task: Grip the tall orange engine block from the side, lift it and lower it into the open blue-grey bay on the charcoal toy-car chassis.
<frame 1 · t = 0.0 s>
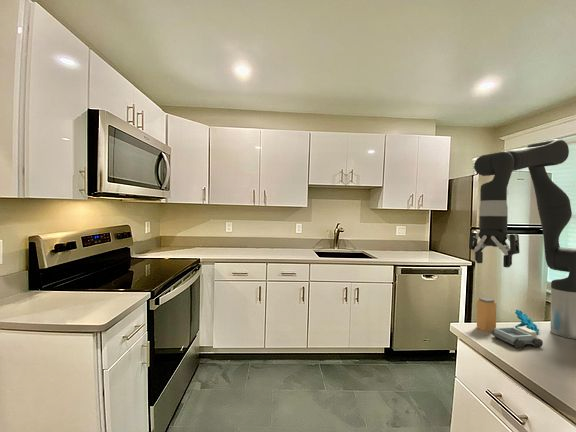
hand: (492, 265, 95), 29 cm above the counter, tool pointing down, fingers open, 8 cm apart
gear: (527, 331, 116), on the counter
chassis: (516, 342, 105), on the counter
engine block: (486, 329, 117), on the counter
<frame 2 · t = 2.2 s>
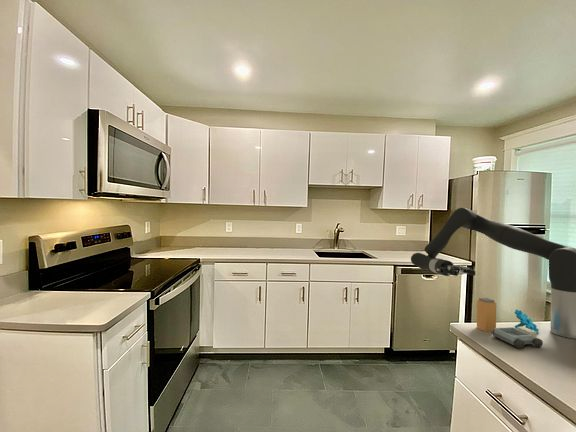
hand: (466, 273, 128), 20 cm above the counter, tool horizontal, fingers open, 8 cm apart
nothing on the counter moved.
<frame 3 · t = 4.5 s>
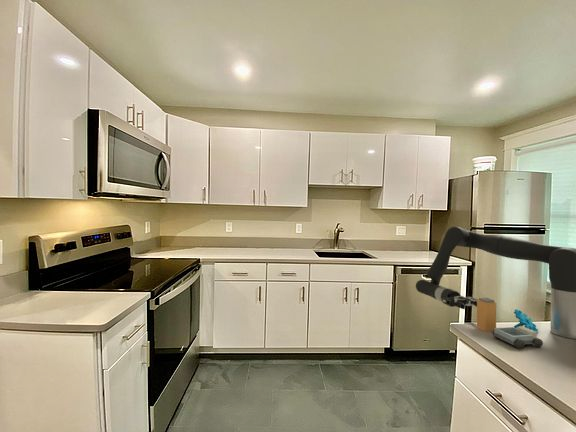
hand: (473, 306, 124), 7 cm above the counter, tool horizontal, fingers open, 8 cm apart
nothing on the counter moved.
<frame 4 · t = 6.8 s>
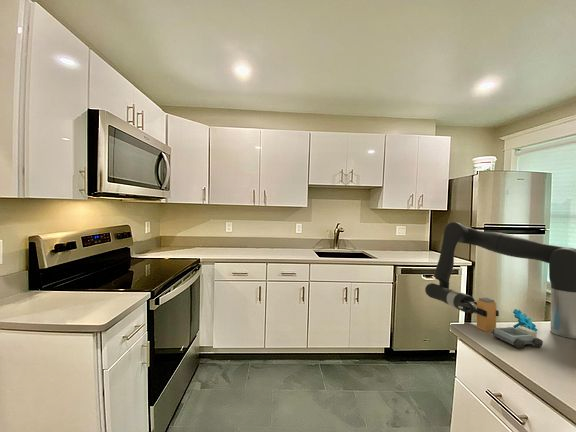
hand: (492, 313, 114), 7 cm above the counter, tool horizontal, fingers closed on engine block, 4 cm apart
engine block: (486, 329, 117), on the counter, touching gripper
everything else where it was.
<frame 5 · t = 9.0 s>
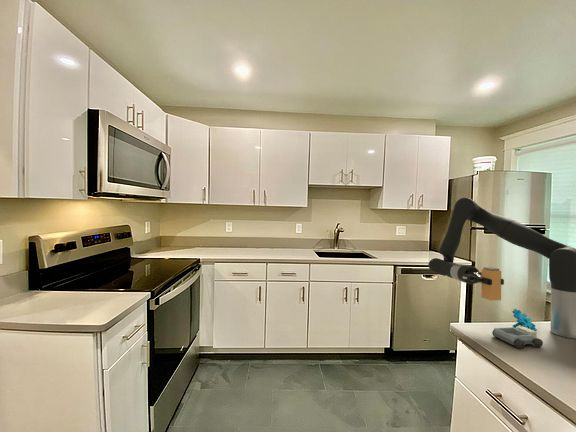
hand: (497, 282, 112), 20 cm above the counter, tool horizontal, fingers closed on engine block, 4 cm apart
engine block: (491, 298, 115), point 13 cm above the counter, touching gripper
everything else where it was.
when the fingers open (10 cm above the counter, at t = 11.6 s): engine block stays where it is, resting on chassis.
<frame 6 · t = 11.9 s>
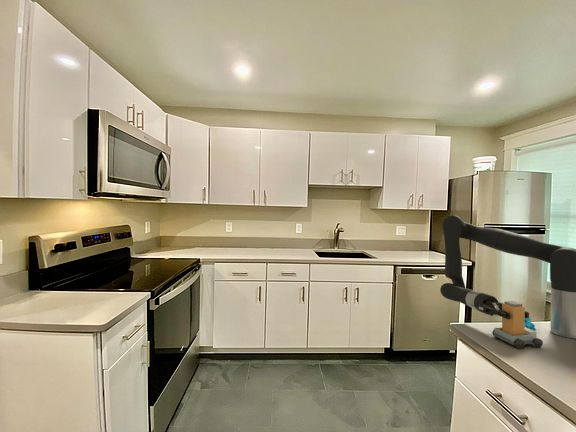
hand: (518, 315, 103), 10 cm above the counter, tool horizontal, fingers open, 7 cm apart
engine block: (512, 336, 105), point 2 cm above the counter, touching chassis
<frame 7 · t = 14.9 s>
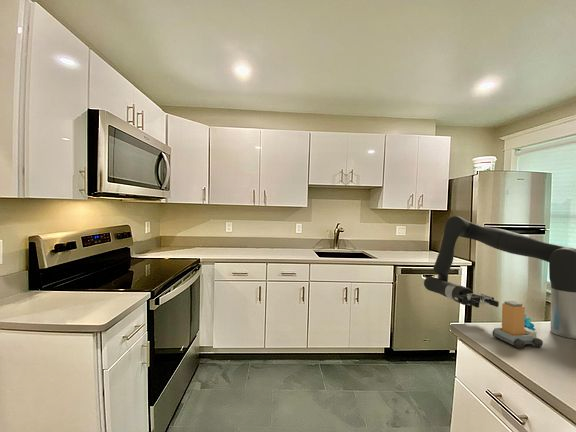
hand: (488, 304, 116), 10 cm above the counter, tool horizontal, fingers open, 8 cm apart
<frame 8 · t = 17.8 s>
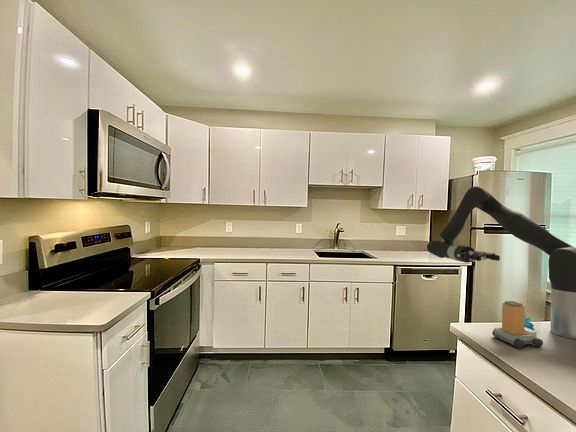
hand: (489, 258, 119), 28 cm above the counter, tool horizontal, fingers open, 8 cm apart
at the end: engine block 0.1 cm from the target spot on the chassis, point 2.2 cm above the chassis's base; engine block tilted 0°; the gripper is holding nothing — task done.
